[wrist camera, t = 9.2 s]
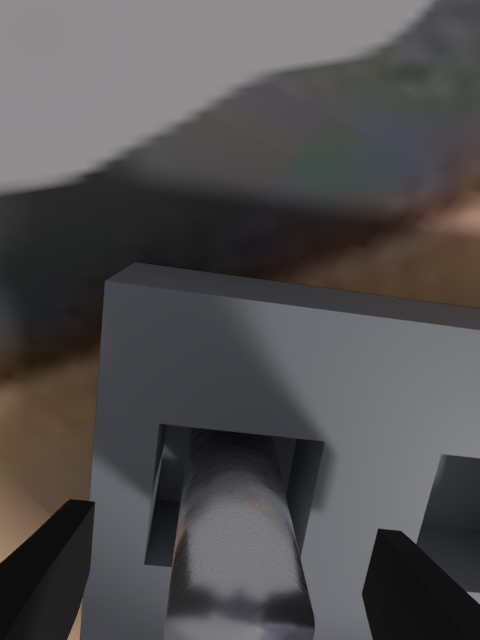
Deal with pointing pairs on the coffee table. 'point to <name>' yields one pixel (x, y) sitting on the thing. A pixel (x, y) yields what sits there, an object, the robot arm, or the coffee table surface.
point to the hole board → (282, 431)
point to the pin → (235, 546)
